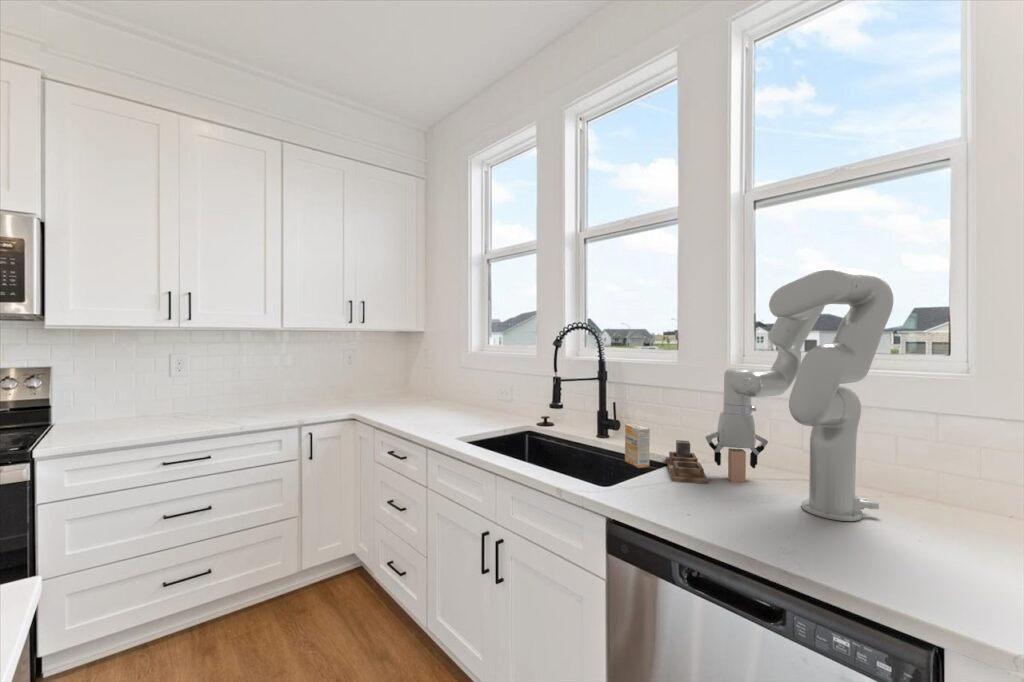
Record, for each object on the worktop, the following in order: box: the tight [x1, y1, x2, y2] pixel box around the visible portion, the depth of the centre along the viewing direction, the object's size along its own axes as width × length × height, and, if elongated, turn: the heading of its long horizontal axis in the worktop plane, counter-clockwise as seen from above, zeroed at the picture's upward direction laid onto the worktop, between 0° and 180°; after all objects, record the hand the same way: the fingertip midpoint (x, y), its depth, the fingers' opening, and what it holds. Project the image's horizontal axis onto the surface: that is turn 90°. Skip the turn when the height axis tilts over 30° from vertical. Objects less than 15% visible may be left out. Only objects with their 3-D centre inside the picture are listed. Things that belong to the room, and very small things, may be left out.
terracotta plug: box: [727, 447, 747, 483], centre depth 142 cm, size 4×4×9 cm
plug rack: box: [665, 439, 709, 485], centre depth 151 cm, size 10×24×8 cm, turn 167°
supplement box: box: [624, 423, 651, 469], centre depth 158 cm, size 8×5×13 cm, turn 17°
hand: (735, 465), depth 142 cm, fingers open, 9 cm apart
